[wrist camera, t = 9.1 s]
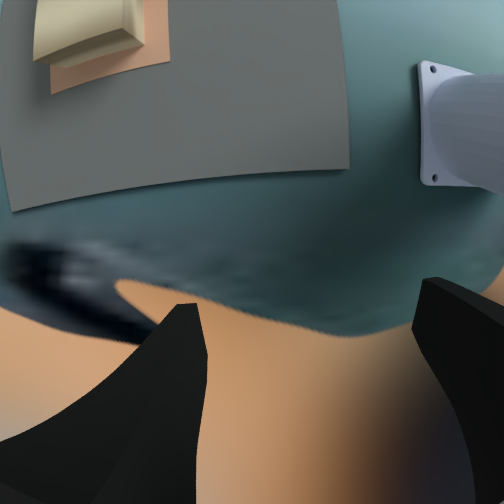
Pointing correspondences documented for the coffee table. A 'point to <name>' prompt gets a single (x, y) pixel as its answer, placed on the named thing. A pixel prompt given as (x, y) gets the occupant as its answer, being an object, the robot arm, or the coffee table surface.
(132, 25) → the beige tapered block
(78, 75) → the rubber mat
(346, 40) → the coffee table surface
